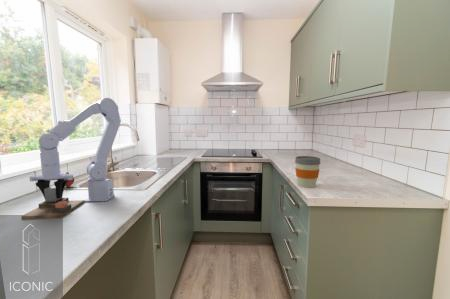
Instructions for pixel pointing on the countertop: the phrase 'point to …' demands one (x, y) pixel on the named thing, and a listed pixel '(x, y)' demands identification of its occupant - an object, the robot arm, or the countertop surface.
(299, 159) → the reusable coffee cup
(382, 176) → the countertop surface
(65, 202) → the button
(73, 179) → the onion
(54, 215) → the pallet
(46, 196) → the block
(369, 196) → the countertop surface
